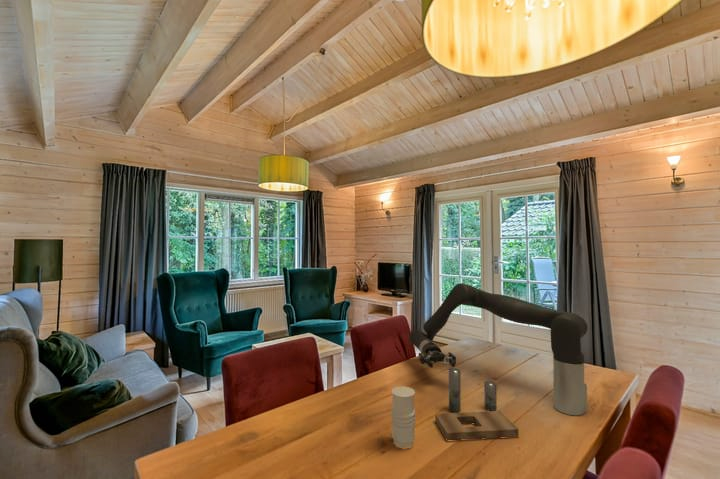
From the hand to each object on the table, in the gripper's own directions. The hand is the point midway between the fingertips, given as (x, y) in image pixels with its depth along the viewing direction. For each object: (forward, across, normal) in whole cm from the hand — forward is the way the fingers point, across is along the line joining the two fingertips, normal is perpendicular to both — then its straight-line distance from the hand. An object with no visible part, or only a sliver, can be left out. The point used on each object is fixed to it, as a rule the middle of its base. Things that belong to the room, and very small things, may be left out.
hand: (442, 365), depth 129 cm
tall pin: (+12, 0, +11) cm, 16 cm away
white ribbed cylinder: (+29, -22, +12) cm, 38 cm away
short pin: (+12, +13, +11) cm, 21 cm away
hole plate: (+24, +2, +11) cm, 27 cm away
